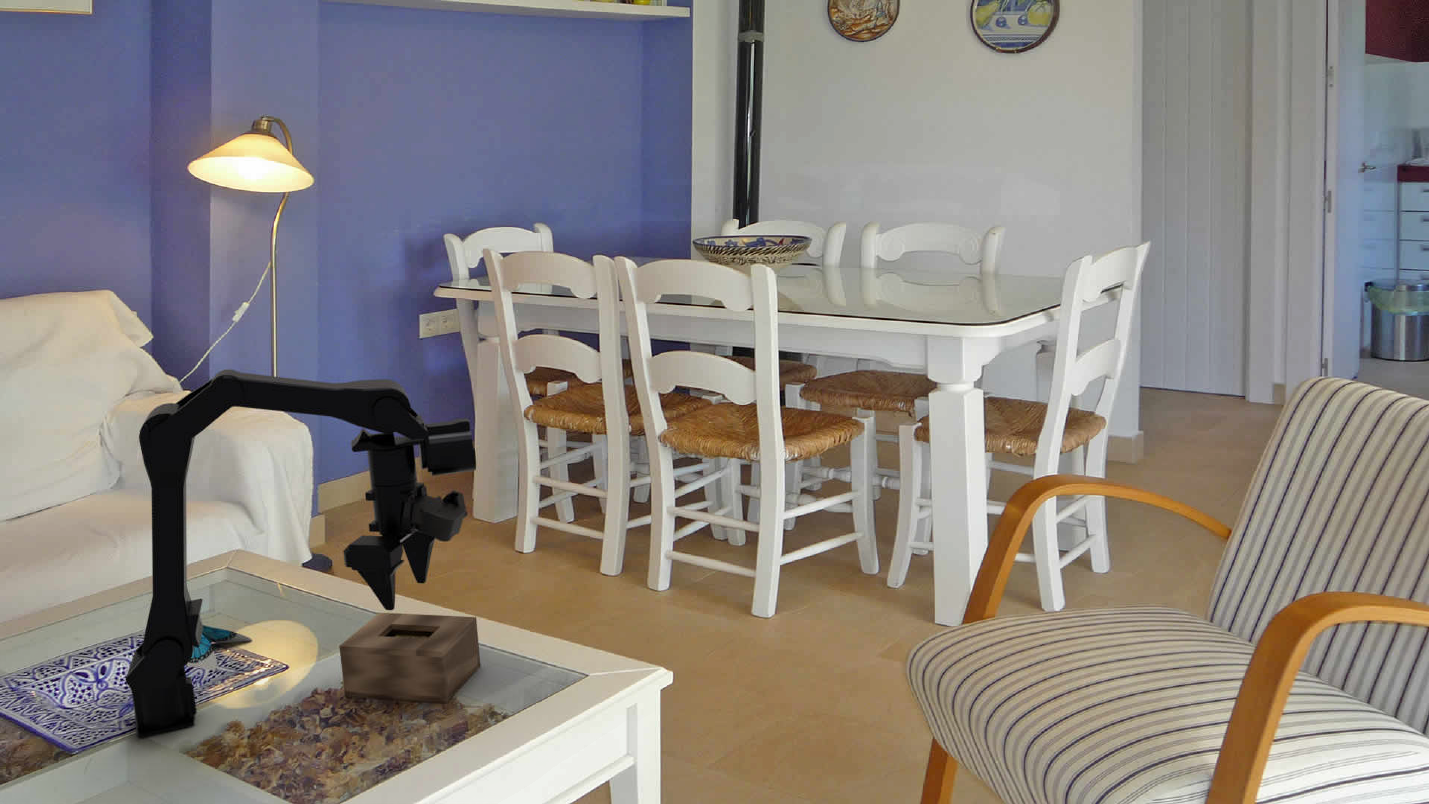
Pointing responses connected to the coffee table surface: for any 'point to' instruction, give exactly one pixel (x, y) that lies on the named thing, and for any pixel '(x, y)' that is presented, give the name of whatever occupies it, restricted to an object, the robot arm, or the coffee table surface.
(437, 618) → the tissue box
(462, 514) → the robot arm
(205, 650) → the decorative butterfly
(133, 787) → the coffee table surface
